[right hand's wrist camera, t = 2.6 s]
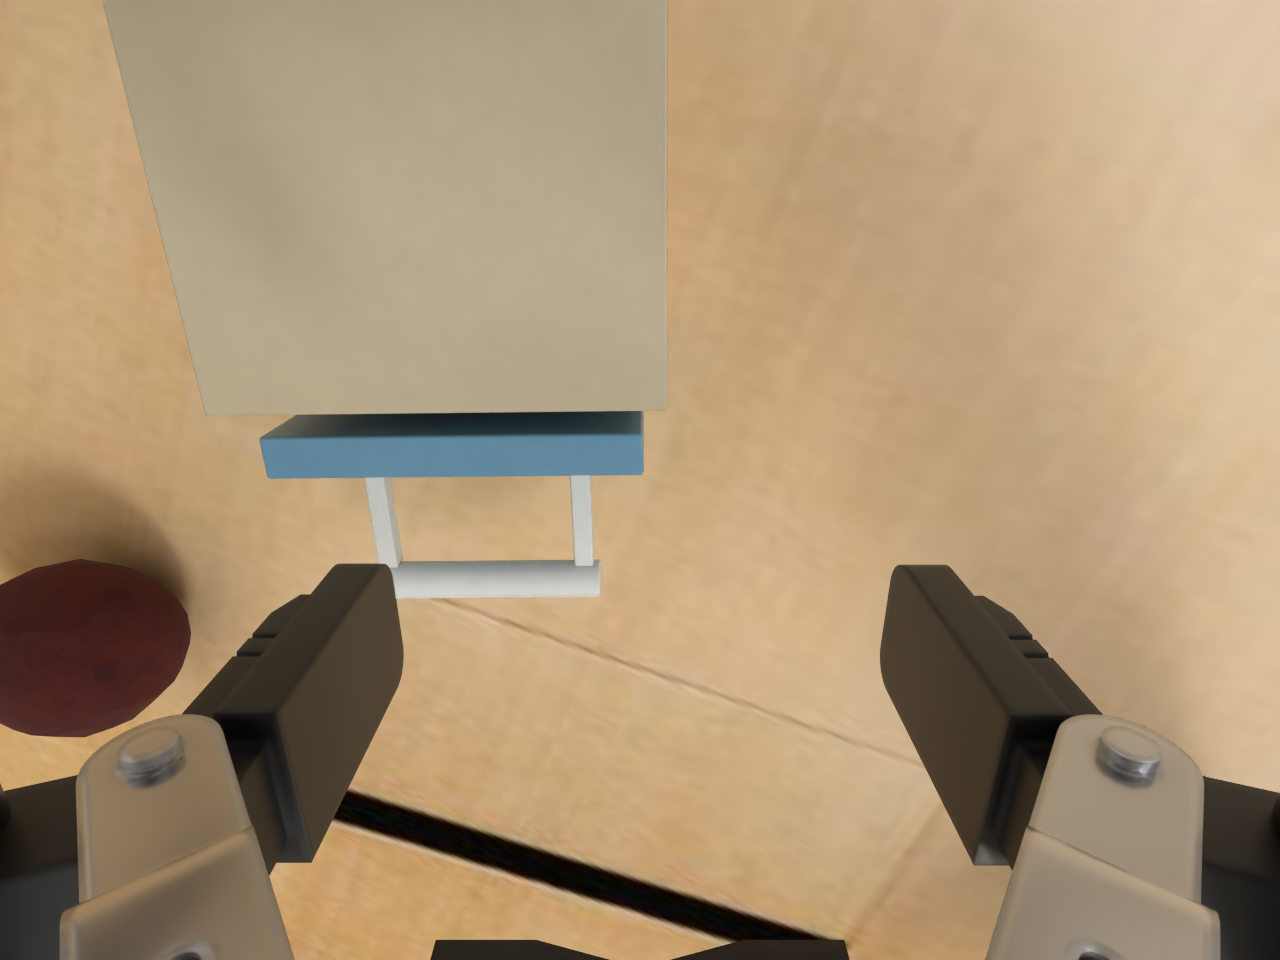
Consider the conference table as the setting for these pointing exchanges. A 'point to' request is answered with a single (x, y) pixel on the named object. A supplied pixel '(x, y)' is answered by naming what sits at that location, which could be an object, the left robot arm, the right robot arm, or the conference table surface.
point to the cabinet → (409, 199)
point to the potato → (85, 647)
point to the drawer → (467, 452)
